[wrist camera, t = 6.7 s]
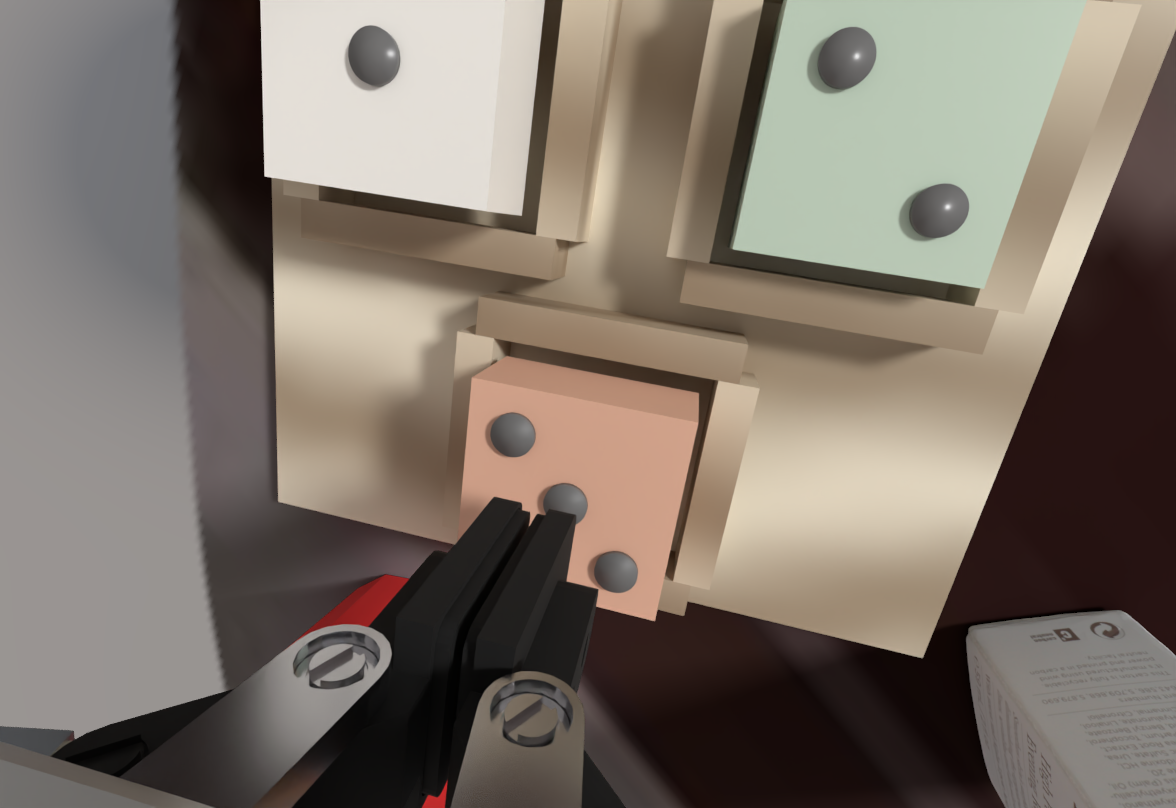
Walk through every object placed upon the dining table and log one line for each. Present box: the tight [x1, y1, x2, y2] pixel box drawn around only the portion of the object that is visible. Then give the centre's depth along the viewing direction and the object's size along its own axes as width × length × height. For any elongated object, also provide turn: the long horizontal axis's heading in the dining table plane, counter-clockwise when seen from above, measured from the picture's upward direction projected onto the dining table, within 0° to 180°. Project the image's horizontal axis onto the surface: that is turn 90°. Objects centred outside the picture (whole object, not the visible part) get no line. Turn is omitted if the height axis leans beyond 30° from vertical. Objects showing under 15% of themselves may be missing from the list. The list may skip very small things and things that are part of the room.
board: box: [272, 0, 1176, 658], centre depth 15 cm, size 17×21×3 cm
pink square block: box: [457, 356, 699, 621], centre depth 14 cm, size 5×5×3 cm
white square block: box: [260, 0, 545, 216], centre depth 12 cm, size 5×5×3 cm
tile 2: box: [728, 0, 1087, 289], centre depth 12 cm, size 5×5×3 cm
